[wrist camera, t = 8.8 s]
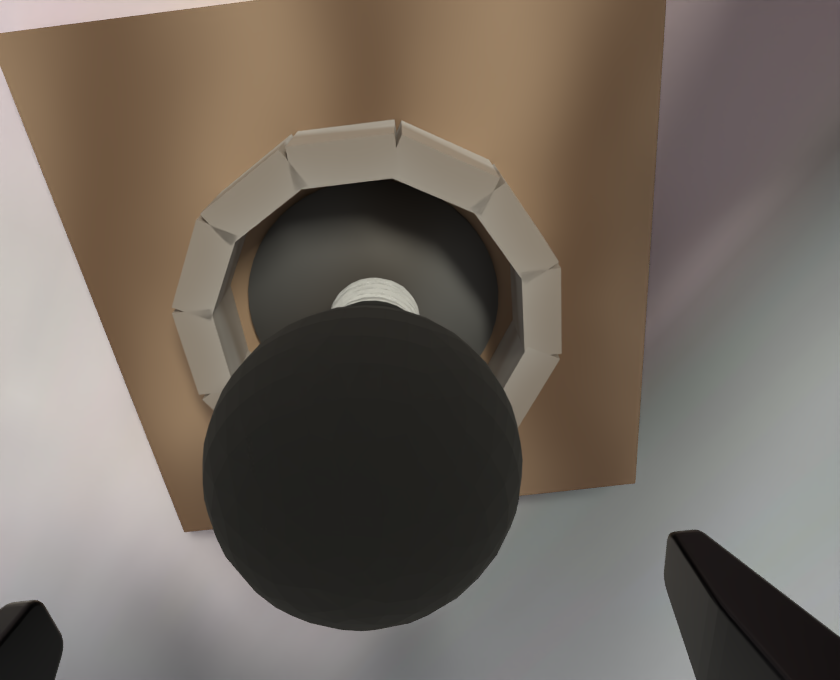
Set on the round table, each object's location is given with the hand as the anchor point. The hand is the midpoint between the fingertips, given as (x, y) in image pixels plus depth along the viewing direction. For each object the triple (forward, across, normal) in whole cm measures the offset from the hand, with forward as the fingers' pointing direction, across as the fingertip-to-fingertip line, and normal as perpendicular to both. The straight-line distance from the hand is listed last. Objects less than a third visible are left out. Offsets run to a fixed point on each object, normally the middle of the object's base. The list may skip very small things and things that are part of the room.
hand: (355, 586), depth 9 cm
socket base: (+12, 0, 0) cm, 12 cm away
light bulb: (+10, 0, 0) cm, 10 cm away
